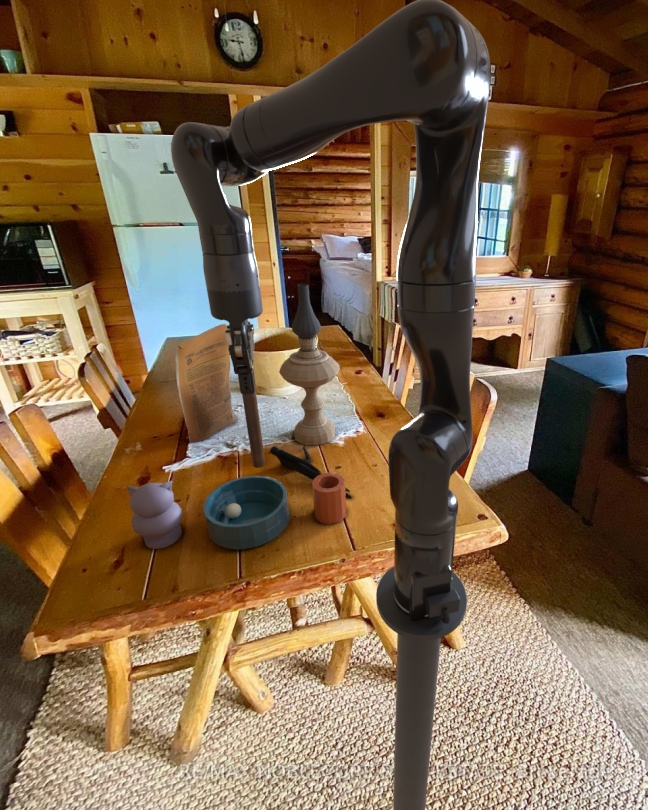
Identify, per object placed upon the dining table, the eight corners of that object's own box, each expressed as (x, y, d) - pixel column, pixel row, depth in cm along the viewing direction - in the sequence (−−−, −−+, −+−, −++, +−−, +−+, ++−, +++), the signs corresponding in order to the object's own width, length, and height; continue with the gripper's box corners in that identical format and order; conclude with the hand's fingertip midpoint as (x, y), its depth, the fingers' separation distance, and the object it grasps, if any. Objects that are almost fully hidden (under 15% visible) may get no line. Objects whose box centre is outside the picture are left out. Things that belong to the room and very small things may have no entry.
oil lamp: (354, 434, 120) (349, 285, 102) (309, 456, 110) (295, 295, 92) (319, 416, 129) (309, 276, 111) (275, 434, 119) (256, 284, 101)
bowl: (291, 543, 83) (288, 518, 80) (204, 558, 80) (198, 533, 77) (287, 493, 96) (285, 471, 94) (213, 504, 93) (208, 481, 90)
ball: (241, 520, 88) (239, 508, 86) (226, 522, 87) (223, 511, 86) (242, 510, 90) (240, 499, 89) (227, 513, 90) (224, 501, 88)
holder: (348, 521, 89) (347, 489, 85) (316, 526, 87) (313, 494, 84) (343, 501, 94) (342, 470, 91) (313, 506, 93) (310, 475, 89)
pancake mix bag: (250, 417, 127) (236, 323, 115) (198, 449, 112) (175, 344, 99) (232, 412, 130) (216, 319, 117) (179, 442, 115) (154, 339, 102)
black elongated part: (369, 460, 96) (290, 421, 108) (343, 488, 92) (264, 444, 104) (374, 482, 102) (298, 442, 114) (350, 510, 97) (274, 465, 109)
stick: (265, 467, 79) (251, 363, 70) (252, 468, 79) (236, 364, 69) (265, 460, 81) (251, 358, 72) (253, 461, 80) (237, 359, 71)
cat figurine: (132, 555, 80) (114, 503, 74) (144, 526, 87) (128, 476, 81) (183, 548, 82) (169, 496, 76) (190, 519, 89) (178, 470, 83)
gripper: (258, 293, 60) (271, 406, 68) (260, 274, 72) (271, 372, 80) (199, 295, 58) (220, 410, 66) (211, 275, 70) (228, 375, 78)
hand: (248, 389), depth 73 cm, fingers closed on stick, 2 cm apart
